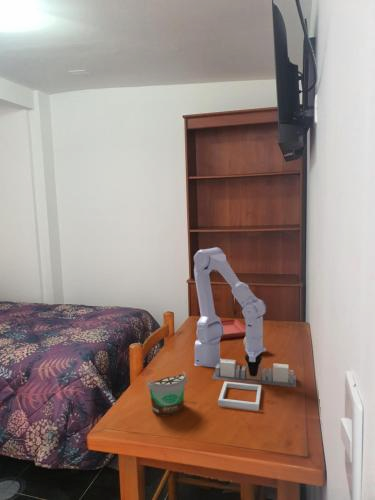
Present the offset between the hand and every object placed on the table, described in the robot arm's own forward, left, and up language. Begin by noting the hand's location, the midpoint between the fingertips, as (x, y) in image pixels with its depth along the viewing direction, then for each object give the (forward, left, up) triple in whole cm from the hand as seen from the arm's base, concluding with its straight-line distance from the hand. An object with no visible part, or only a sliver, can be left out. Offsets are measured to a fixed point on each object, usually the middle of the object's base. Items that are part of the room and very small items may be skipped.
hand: (253, 373), depth 131 cm
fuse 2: (+9, 0, -1) cm, 9 cm away
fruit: (-2, +23, -2) cm, 23 cm away
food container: (-22, -26, -2) cm, 34 cm away
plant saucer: (-17, +44, -3) cm, 47 cm away
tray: (-3, -14, -2) cm, 14 cm away
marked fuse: (0, 0, -1) cm, 1 cm away
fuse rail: (0, 0, -2) cm, 2 cm away
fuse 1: (-9, 0, -1) cm, 9 cm away
